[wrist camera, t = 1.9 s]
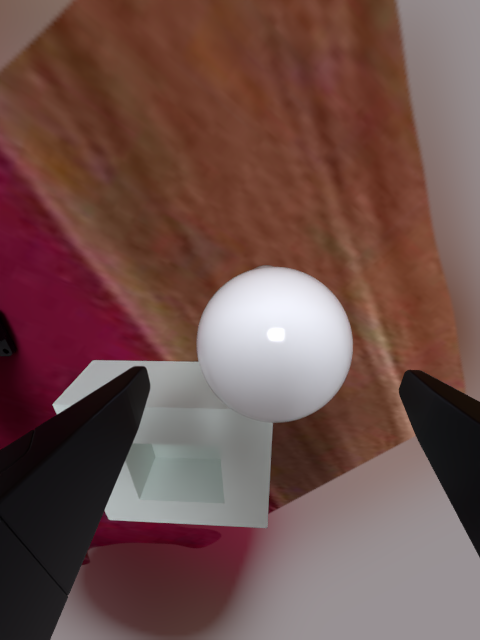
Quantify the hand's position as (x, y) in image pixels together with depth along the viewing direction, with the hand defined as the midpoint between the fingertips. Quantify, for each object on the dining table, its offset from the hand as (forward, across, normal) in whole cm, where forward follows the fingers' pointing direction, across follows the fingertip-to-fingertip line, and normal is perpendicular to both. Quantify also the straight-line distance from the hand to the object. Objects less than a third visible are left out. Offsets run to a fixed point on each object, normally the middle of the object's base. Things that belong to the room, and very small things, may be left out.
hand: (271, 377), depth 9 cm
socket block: (+10, +7, +14) cm, 19 cm away
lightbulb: (+10, 0, 0) cm, 10 cm away
